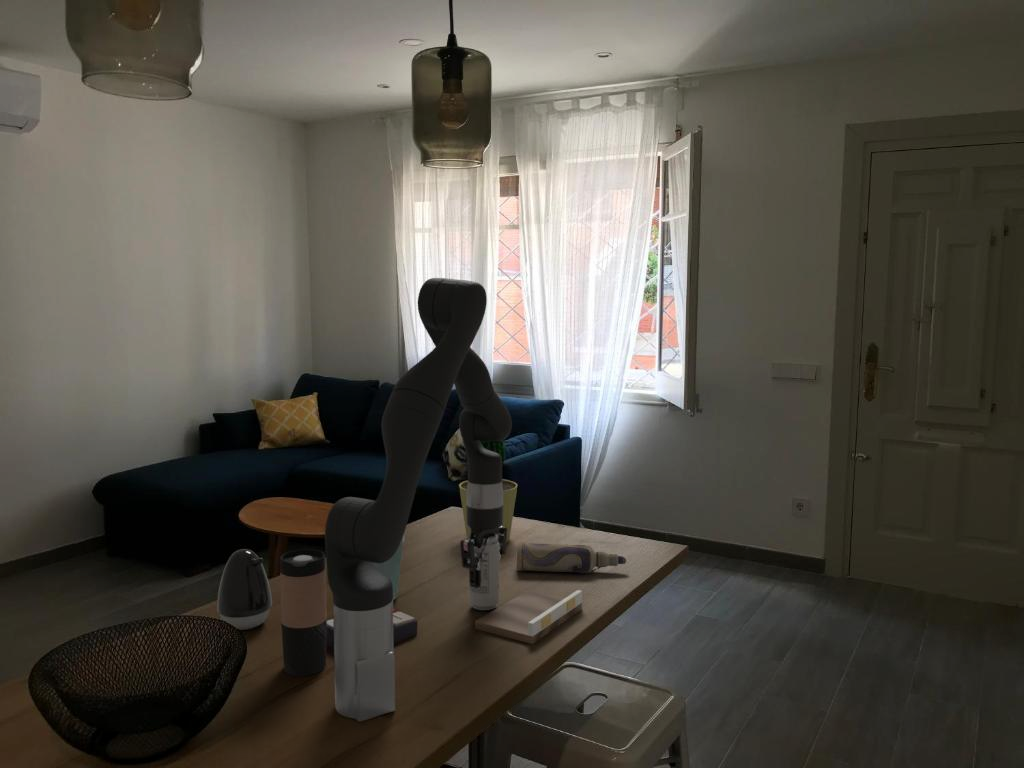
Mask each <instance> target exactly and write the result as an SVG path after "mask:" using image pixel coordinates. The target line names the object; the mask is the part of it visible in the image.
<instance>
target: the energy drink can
mask: <svg viewBox="0 0 1024 768" xmlns="http://www.w3.org/2000/svg"><path fill="white" fill-rule="evenodd" d="M485 540H486V539H483V544H482V547H481V548H478V547H477V546H475V549H474V552H475V553H476V554H480V553H481V551H482V549H483V548H484V541H485ZM499 546H500V545H499V542H498V540H497V539H496V536H495V537H494V536H490V538H489V542H488V544H487V545H486V546H485V553H484V554H485V558H484V559H482V564H481V568H480V570H481V585H480V587H478V588H475V587H471V586H470V585H469V603H470V605H471V607H472V608H473V609H475V610H478V611H490V610H494V609H496V606H497V604H499V599H500V597H499V595H500V594H499V593H500V590H499V589H500V588H499V585H500V584H499V583H500V581H499V580H500V579H499V578H500V575H499V574H500V572H499V571H500V560H499ZM476 563H477V558H476V557H475V564H476Z"/></svg>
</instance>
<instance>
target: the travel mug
mask: <svg viewBox="0 0 1024 768" xmlns="http://www.w3.org/2000/svg"><path fill="white" fill-rule="evenodd" d="M279 560H280V561H279V562H280V564H279V565H280V566H279V567H280V618H281V619H280V622H281V623H280V625H281V639H282V641H281V642H282V654H283V655H282V657H283V669H284V672H285V673H286V674H288V675H291V676H292V677H293V676H294V677H305V676H306V677H308V676H312V675H316V674H318V673H320V672H322V671H323V670H324V669H326V665H327V645H326V636H327V621H328V619H327V616H328V615H327V586H326V585H327V583H326V582H327V581H326V554H325V553H324V552H323V551H320V550H319V549H312V548H311V549H309V548H304V549H296V550H290V551H288V552H285V553H283V554H282V555H281V556H280V558H279Z"/></svg>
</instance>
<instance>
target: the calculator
mask: <svg viewBox="0 0 1024 768" xmlns="http://www.w3.org/2000/svg"><path fill="white" fill-rule="evenodd" d="M333 620H334V619H333V618H331V619H329V620H328V619H327V636H326V646H327V645H328V646H327V647H329V646H330V647H329V648H331V649H333V650H334V624H333ZM416 635H418V620H417V619H415V617H413V616H411V615H409V614H406V613H404V612H401V611H398V610H396V609H395V608H393V644H395V643H400V642H402V641H403V640H406V639H408V638H411V637H413V636H416Z"/></svg>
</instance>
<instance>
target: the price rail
mask: <svg viewBox="0 0 1024 768" xmlns="http://www.w3.org/2000/svg"><path fill="white" fill-rule="evenodd" d="M581 603H582V604H583V590H580V589H577V590H576V591H574V592H573V593H571V594H569V595H568V596H567V597H565V599H563V600H562V601H560V602H559V603H557V604H556V605H554V606H553V607H551V608H550V609H548V610H546V611H545V612H543V613H542V614H540V615H539V616H537V617H536V618H534V619H533V620H531V621H530V622H528V635H529V636H532V637H533V636H534V635H536V634H537V633H539V632H540V631H541V630H543V629H544V628H546V627H547V626H549V625H550V624H552V623H553V622H555V621H556V620H557V619H559V618H560V617H562V616H563V615H565V614H566V613H568V612H569V611H570V610H572V609H573V608H575V607H576V606H578V605H579V604H581Z"/></svg>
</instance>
